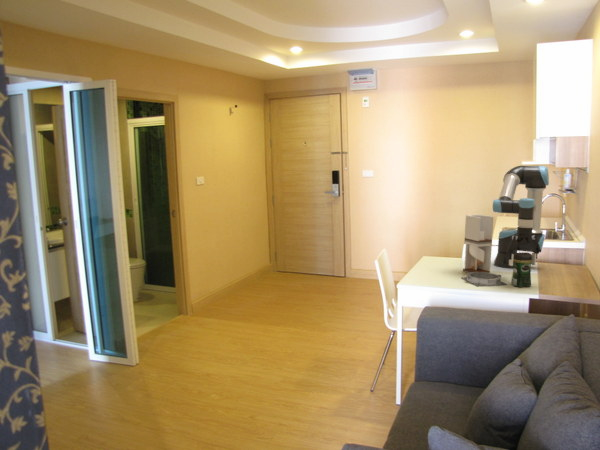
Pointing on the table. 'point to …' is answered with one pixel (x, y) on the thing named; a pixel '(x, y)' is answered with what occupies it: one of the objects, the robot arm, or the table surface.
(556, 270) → the table surface
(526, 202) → the robot arm
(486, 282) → the duct collar
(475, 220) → the toilet paper holder
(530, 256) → the coffee jar
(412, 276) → the table surface
